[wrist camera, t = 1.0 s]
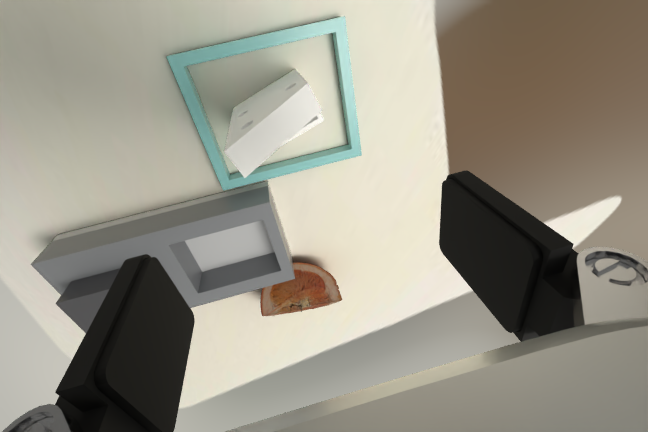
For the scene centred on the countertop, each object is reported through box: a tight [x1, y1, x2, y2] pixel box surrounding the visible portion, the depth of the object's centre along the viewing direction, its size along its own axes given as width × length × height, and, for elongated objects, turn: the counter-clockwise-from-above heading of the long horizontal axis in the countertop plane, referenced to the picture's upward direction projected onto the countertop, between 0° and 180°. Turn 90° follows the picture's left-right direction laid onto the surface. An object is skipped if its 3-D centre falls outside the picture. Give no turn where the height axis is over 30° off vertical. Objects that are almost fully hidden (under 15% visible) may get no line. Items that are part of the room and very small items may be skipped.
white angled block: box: [224, 69, 324, 178], centre depth 22 cm, size 4×10×9 cm
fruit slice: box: [260, 262, 342, 316], centre depth 33 cm, size 8×7×5 cm
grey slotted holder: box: [31, 181, 295, 333], centre depth 28 cm, size 9×19×6 cm, turn 100°
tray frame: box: [167, 16, 362, 191], centre depth 25 cm, size 11×13×1 cm
